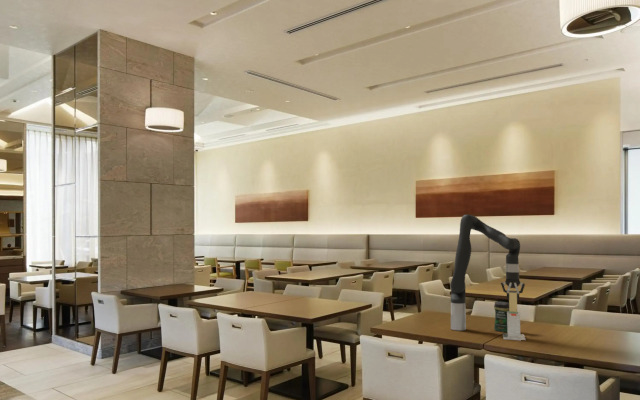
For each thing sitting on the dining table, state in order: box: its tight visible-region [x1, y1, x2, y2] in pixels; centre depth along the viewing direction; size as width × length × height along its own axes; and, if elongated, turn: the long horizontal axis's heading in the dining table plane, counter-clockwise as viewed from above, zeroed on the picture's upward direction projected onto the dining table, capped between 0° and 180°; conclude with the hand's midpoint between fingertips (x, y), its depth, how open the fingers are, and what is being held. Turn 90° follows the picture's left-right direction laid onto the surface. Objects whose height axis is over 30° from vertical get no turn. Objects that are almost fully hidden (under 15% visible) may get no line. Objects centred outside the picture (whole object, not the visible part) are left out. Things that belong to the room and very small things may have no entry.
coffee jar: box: [493, 301, 509, 333], centre depth 307 cm, size 10×8×19 cm
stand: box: [502, 311, 526, 341], centre depth 287 cm, size 12×12×15 cm
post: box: [508, 290, 518, 313], centre depth 288 cm, size 4×4×21 cm
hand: (513, 299), depth 288 cm, fingers open, 4 cm apart
